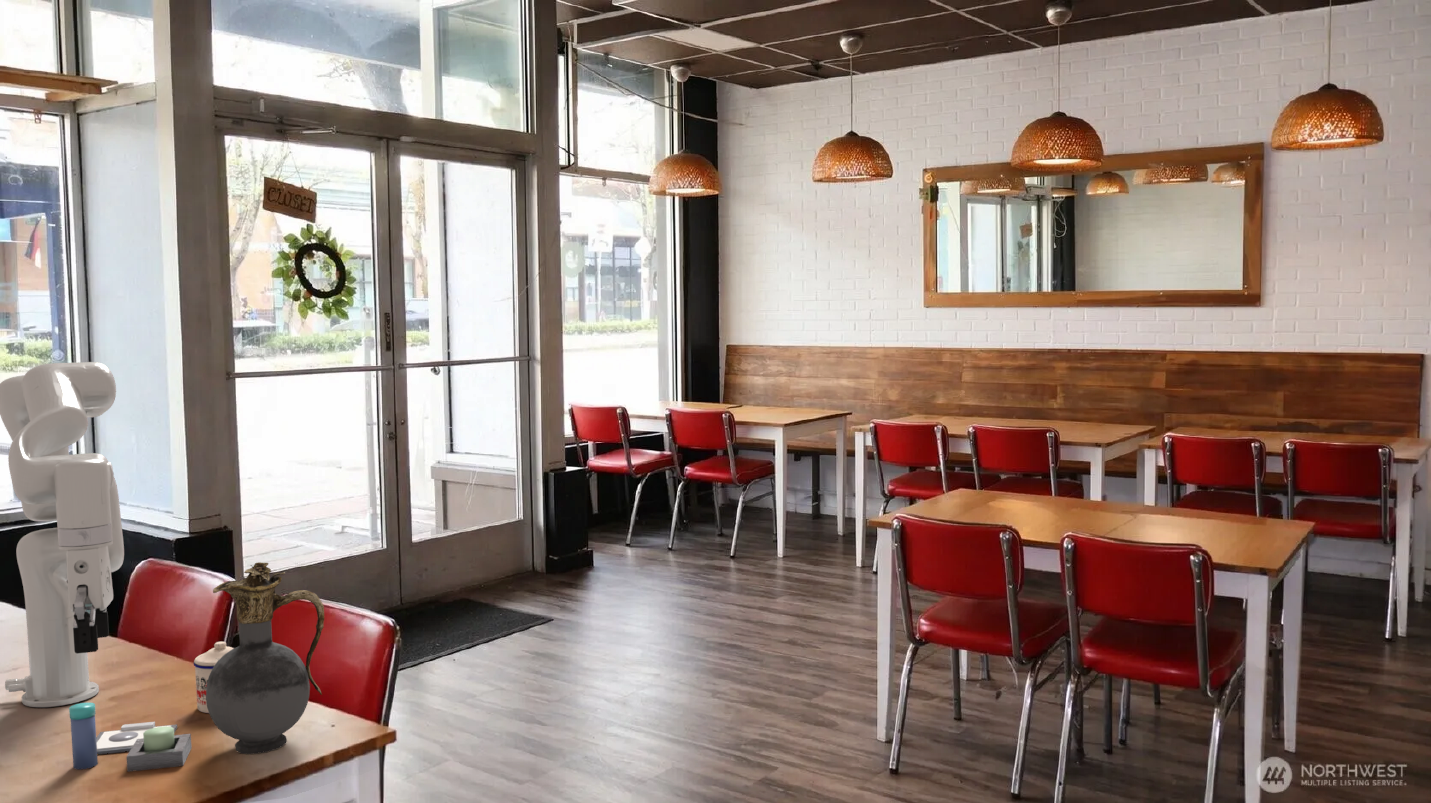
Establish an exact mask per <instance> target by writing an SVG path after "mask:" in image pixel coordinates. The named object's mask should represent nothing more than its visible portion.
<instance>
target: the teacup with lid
mask: <svg viewBox="0 0 1431 803" xmlns="http://www.w3.org/2000/svg"><path fill="white" fill-rule="evenodd" d="M213 646H214V647H212V648H211V649H209V650H208V651H206V652H204V653H202V654H198V656H196V657H195V659H194V660H193V666H194V668H195V669H194V670H195V686H196V687H195V688H196V689H195V691H196V707H197V710H198V711H199V712H202V713H205V714H209V711H208V708H207V703H206V686H207V682H208V678H209V675H210V673H211V671H212V669H213V667H214V666H215V664H216V663H217V661H218V660H219V659H220V658H221V657H222V656H223V655H225V654H226V653H228V652H229V651H230V650H232V649H234V648H235V647H232V646H227V642H226V641H216V642H215V643H214V644H213Z"/></svg>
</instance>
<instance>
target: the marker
mask: <svg viewBox="0 0 1431 803" xmlns="http://www.w3.org/2000/svg"><path fill="white" fill-rule="evenodd" d="M68 712H69V714H68V715H69V719H70V733H71V751H72V766H73V769H74V770H86V769H87V768H88V769H91V768H93V766H94V767H96V766H97V765H98V764H99V762H98V755H97V742H96V737H97V727H96V703H94V702H80V703H75V704H73V705H71V706H69V708H68ZM88 769H87V770H88Z"/></svg>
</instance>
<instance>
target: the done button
mask: <svg viewBox="0 0 1431 803" xmlns="http://www.w3.org/2000/svg"><path fill="white" fill-rule="evenodd" d="M155 727H156V726H155ZM174 735H175V733H174V728H172V727H156V728H152V729H149V730H147V731H145V732H144V733H143V736H144V752H147V751H157V750H167V749H174V748H175V740H174Z"/></svg>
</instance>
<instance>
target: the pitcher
mask: <svg viewBox="0 0 1431 803" xmlns="http://www.w3.org/2000/svg"><path fill="white" fill-rule="evenodd" d="M267 566H269V562H261V561H260V562H256V563H254V565H250V567H251V568H248V569H246V570H245V571H244V572H243V573H245V574H248V575H247V576H246V577H245V578H244V579H242V580H241V579H240V580H229V581H225V582H223V583H220V584H219V585H216V586H215V587H214V588H213V590H212V592H213V594H215V593H217V594H218V593H219V592H226V593H227V594H229V595H230V596H231V598H232V599H234V602H235V604H236V620H237V622H238V633H239V634H238V635H239V645H238V646H237V647H233V648H234V649H232V650H230V651H229V652H228V653H226V654H225V655H223V656H222V657H221V658H220V659H219V660H218V661H217V663H216V664H215V666H214V667H213V669H212V671H211V673H210V675H209V678H208V682H207V686H206V703H207V708H208V711H209V713H208V714H209V716H210V719H211V720H212V722H213V723H214V725H215V726H216V728H217V729H218V730H219V731H221V733H223V734H225V735H226V736H228V737H230V738H232V739H235V740H237V741H236V742H235V743H234V748H235V751H236V752H237V753H239V754H246V755H254V754H255V755H256V754H262V753H268V751H269V752H272V751H275V750H278V749H279V748H280V749H281V748H282V747H284V746H285V745H286V744H287V742H288V740H287V739H288V738H287V736H286V735H285V733H286V732H288V731H289V730H290V729H292V728H293V727H294V726H295V725H296V724H297V722H298V721H299V720H300V719H301V717H302V716H303V714H304V713H305V710H306V709H307V706H308V703H309V699H310V693H311V692H310V691H311V684H312V686H313V687H314V689H315V690H316V691H317V692H318V693H319V694H320V695H323V694H322V691H321V689H320V687H319V686H318V685H317V684H316V682H315V680H314V679H313V677H312V675H311V670H310V669H311V668H310V665H311V660H312V657H313V654H314V652H315V650H316V648H317V645H318V642H319V641H320V638H321V635H322V631H323V629H324V625H325V624H324V623H325V606H324V604H323V602H322V599H320V597H319V595H318V594H316V593H315V592H312V591H310V590H304V589H301V590H300V589H299V590H295V591H290V592H289V593H287V594H285V595H279V594H278V593H277V592H276V590H275V589H276V588H277V587H278V585H280V584H281V582H282V576H281V575H285V574H286V572H285V571H283V572H275V573H273V574H272V575H271V576H270V574H271V573H272V569H271V568H270V567H267ZM278 575H280V576H278ZM300 600H304V601H309V602H310V603H312V604H313V606H314V608H315V610H316V614H317V615H316V616H317V620H316V625H315V629H316V631H315V633H314V634H315V635H314V637H313V638H312V639H313V640H312V642H311V645H310V648H309V650H308V652H307V655H306V659H305V663H304V662H303V660H302V658H301V657H300V656H299V655H298V654H297V653H296V651H294V650H293V649H291V647H288V646H286V645H283V644H281V643H277V642H274V641H273V634H272V633H273V631H272V628H273V627H272V620H273V618H274V612H275V611H276V610H277V609H279V608H281V607H282V606H286V605H288V604H290V603H292V602H294V601H300ZM310 683H311V684H310Z"/></svg>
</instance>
